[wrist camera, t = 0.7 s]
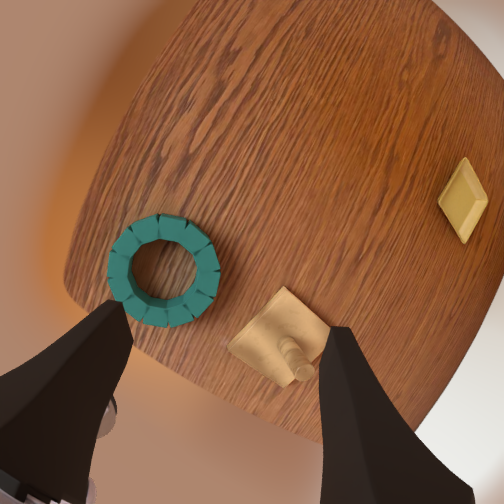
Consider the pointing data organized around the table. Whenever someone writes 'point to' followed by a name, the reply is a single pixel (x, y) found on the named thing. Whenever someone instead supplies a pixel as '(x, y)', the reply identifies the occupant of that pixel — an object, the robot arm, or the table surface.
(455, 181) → the saucer
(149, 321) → the ring
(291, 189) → the table surface
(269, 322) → the holder
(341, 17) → the table surface
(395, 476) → the robot arm
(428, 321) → the table surface
